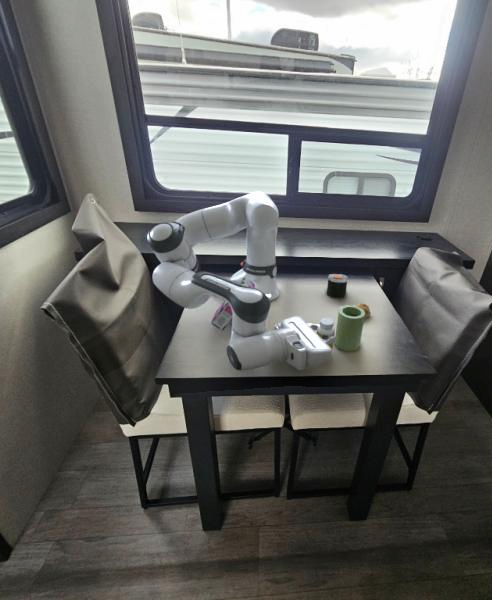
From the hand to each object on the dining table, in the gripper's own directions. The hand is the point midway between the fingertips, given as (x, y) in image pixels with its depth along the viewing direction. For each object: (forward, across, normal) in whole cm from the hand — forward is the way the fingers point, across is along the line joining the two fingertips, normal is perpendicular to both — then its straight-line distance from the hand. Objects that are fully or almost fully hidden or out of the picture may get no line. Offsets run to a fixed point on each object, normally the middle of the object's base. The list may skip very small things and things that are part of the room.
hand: (328, 332), depth 95 cm
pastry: (+22, -13, -7) cm, 27 cm away
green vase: (+8, 0, -7) cm, 11 cm away
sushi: (+25, -32, -7) cm, 41 cm away
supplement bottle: (-1, 0, -6) cm, 6 cm away
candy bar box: (-26, -26, -5) cm, 37 cm away
